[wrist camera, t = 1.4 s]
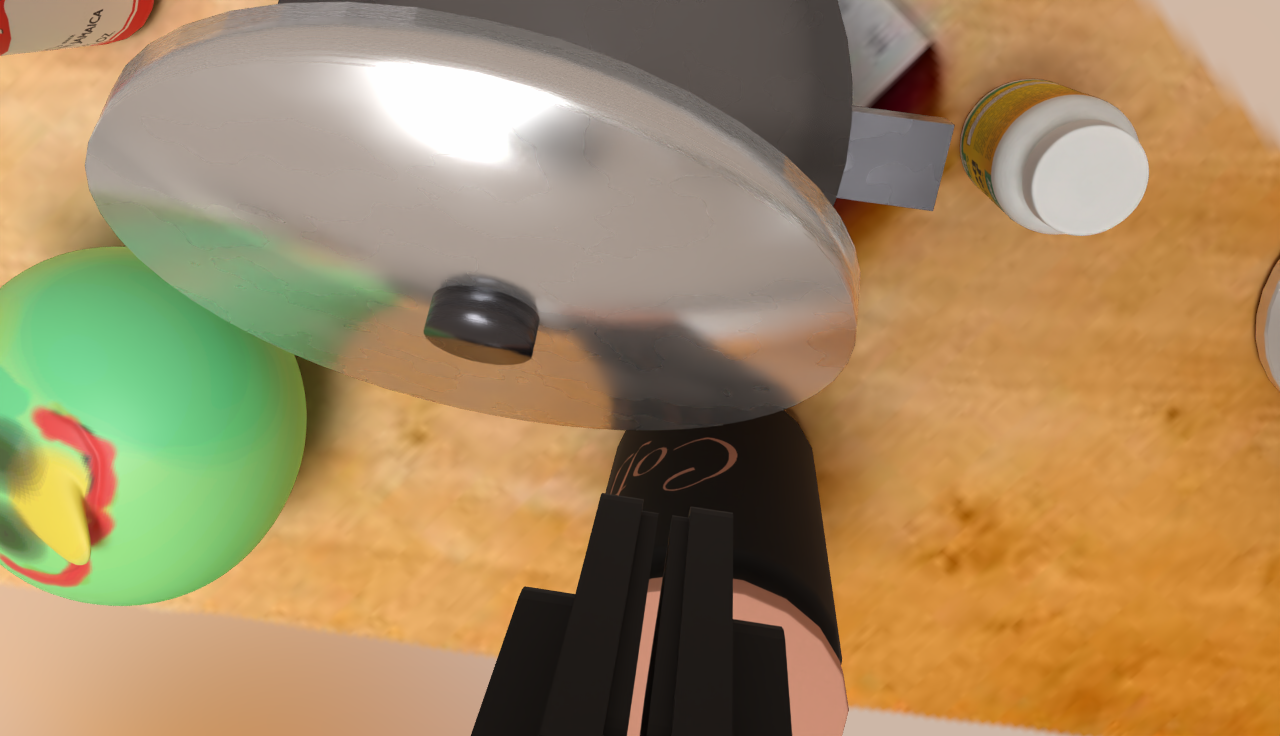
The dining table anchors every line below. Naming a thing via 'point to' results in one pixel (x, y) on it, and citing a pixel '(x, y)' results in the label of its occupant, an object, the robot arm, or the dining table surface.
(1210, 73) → the dining table surface
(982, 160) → the supplement bottle
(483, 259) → the lid
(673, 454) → the coffee jar
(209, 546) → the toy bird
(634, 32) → the pot
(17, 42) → the beer can
